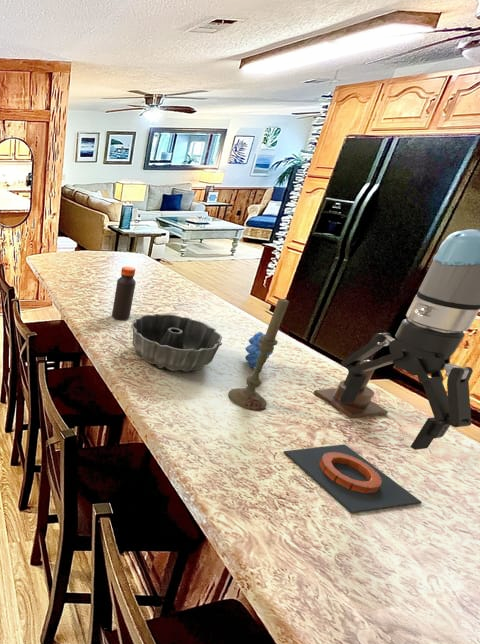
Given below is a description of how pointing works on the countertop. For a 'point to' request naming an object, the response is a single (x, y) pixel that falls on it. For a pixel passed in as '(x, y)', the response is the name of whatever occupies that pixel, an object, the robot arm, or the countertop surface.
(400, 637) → the countertop surface
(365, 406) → the stand
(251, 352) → the grapes
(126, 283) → the bottle
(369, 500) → the mat
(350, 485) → the ring
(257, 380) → the candlestick holder
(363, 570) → the countertop surface
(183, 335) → the bundt pan
